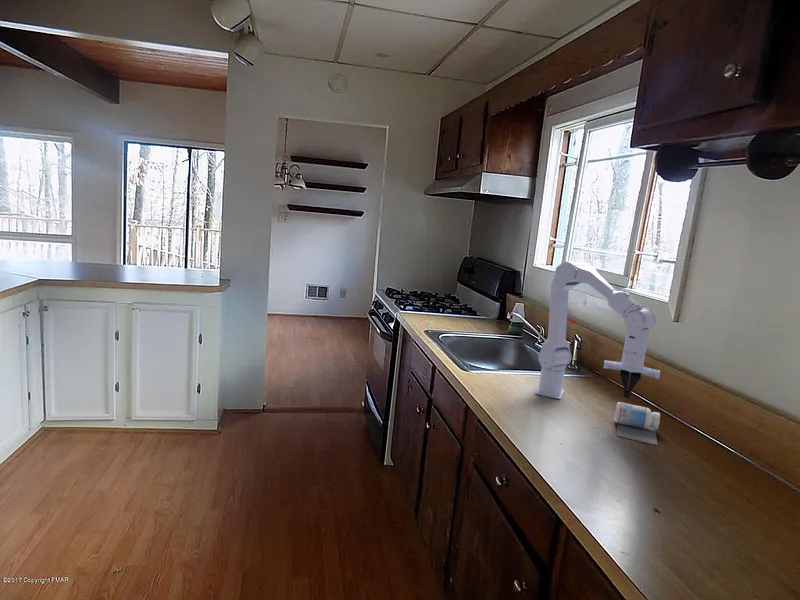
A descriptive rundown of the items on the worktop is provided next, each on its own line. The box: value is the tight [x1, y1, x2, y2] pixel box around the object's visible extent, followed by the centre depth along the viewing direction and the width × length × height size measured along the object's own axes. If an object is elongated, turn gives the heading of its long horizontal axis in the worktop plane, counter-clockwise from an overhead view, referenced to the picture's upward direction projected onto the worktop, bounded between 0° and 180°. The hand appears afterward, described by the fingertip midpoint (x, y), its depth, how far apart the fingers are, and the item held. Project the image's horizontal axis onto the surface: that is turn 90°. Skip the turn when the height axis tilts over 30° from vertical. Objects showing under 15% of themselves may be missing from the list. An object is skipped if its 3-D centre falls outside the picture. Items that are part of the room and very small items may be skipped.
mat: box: [616, 423, 659, 447], centre depth 147 cm, size 20×10×1 cm, turn 157°
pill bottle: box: [613, 401, 661, 430], centre depth 146 cm, size 6×6×11 cm
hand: (626, 396), depth 147 cm, fingers closed
